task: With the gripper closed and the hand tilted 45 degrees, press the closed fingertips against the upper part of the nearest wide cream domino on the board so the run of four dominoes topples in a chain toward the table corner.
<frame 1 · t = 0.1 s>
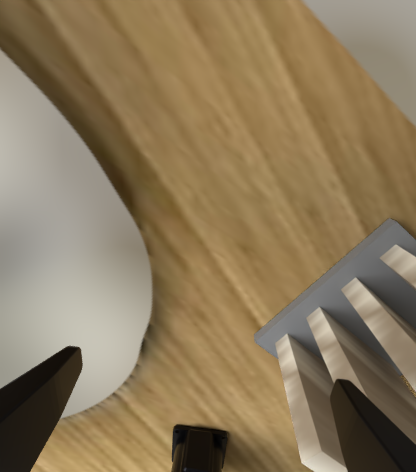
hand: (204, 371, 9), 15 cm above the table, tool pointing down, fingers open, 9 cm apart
domino 2: (350, 342, 25), point 1 cm above the table, touching board
domino 1: (317, 366, 26), point 1 cm above the table, touching board
board: (362, 322, 25), on the table
domino 3: (386, 316, 23), point 1 cm above the table, touching board
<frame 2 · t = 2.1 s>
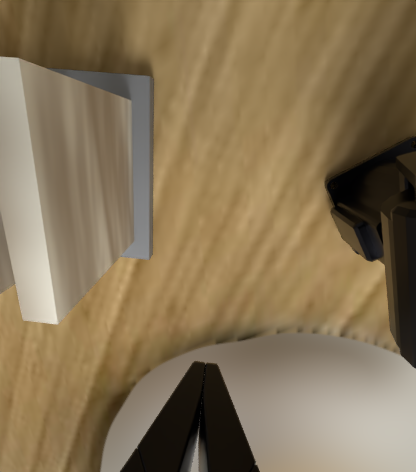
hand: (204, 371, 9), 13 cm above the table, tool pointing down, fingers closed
domino 2: (68, 171, 19), point 1 cm above the table, touching board
domino 1: (122, 176, 19), point 1 cm above the table, touching board
board: (50, 167, 20), on the table
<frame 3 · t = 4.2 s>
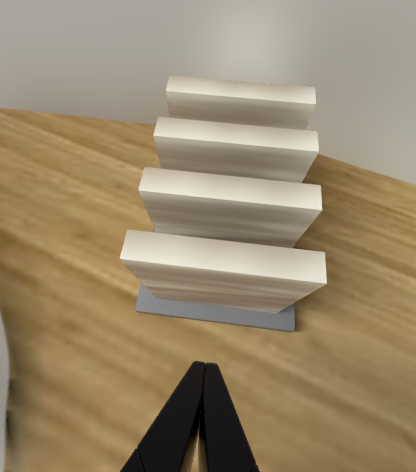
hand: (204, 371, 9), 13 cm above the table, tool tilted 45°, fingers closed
domino 2: (221, 251, 24), point 1 cm above the table, touching board
domino 1: (216, 296, 22), point 1 cm above the table, touching board
board: (222, 235, 26), on the table
domino 3: (225, 212, 25), point 1 cm above the table, touching board
domino 4: (229, 178, 27), point 1 cm above the table, touching board
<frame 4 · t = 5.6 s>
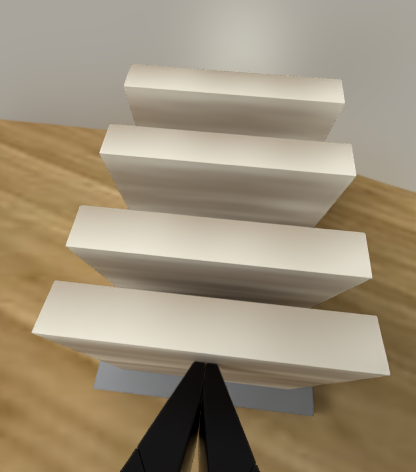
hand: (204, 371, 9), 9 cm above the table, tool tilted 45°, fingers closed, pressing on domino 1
domino 2: (212, 299, 18), point 1 cm above the table, touching board
domino 1: (205, 364, 16), point 1 cm above the table, tilted 7°, touching board, gripper
board: (214, 275, 20), on the table
domino 3: (217, 245, 20), point 1 cm above the table, touching board
domino 4: (222, 200, 21), point 1 cm above the table, touching board
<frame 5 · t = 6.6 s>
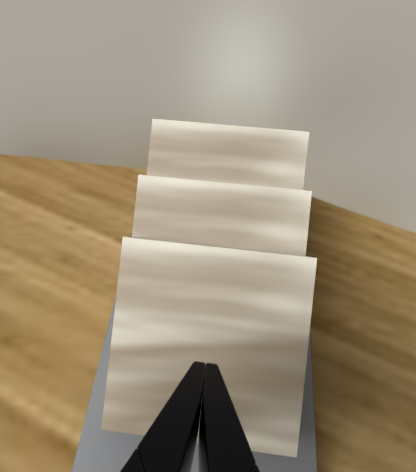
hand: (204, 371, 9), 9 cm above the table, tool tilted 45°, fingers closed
domino 2: (206, 350, 16), point 2 cm above the table, tilted 66°, touching board, domino 1, domino 3
domino 1: (198, 431, 14), point 2 cm above the table, tilted 66°, touching board, domino 2
board: (208, 337, 18), on the table
domino 3: (214, 279, 18), point 2 cm above the table, tilted 66°, touching domino 2, domino 4
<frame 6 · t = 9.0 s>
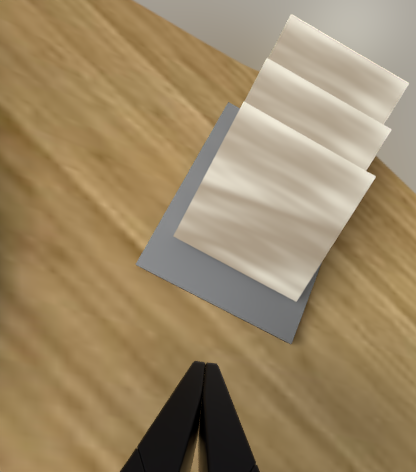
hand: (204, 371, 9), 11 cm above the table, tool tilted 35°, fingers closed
domino 2: (256, 220, 21), point 2 cm above the table, tilted 66°, touching board, domino 1, domino 3
domino 1: (234, 266, 20), point 2 cm above the table, tilted 66°, touching board, domino 2
board: (253, 217, 22), on the table
domino 3: (277, 174, 22), point 2 cm above the table, tilted 66°, touching domino 2, domino 4
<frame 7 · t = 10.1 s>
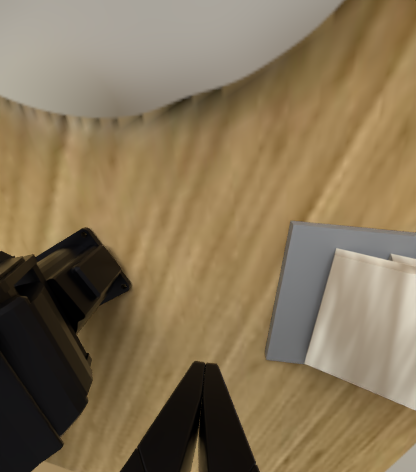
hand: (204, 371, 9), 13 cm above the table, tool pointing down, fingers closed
domino 1: (319, 308, 21), point 2 cm above the table, tilted 66°, touching board, domino 2
board: (371, 302, 22), on the table
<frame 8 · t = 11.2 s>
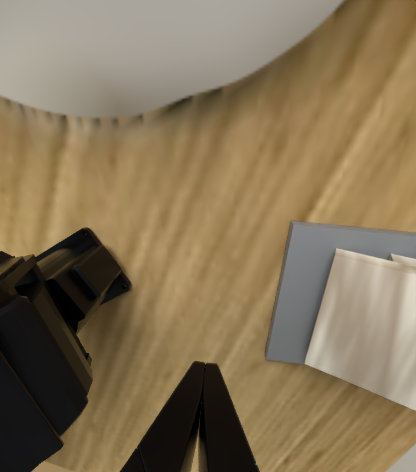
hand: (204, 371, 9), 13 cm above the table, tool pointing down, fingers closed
domino 1: (319, 308, 21), point 2 cm above the table, tilted 66°, touching board, domino 2
board: (371, 302, 22), on the table
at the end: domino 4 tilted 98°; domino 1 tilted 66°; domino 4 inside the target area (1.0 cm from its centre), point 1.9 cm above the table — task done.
